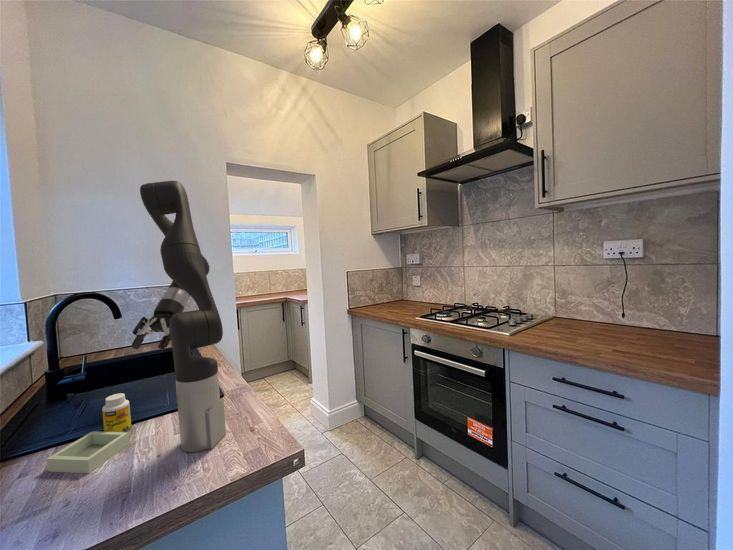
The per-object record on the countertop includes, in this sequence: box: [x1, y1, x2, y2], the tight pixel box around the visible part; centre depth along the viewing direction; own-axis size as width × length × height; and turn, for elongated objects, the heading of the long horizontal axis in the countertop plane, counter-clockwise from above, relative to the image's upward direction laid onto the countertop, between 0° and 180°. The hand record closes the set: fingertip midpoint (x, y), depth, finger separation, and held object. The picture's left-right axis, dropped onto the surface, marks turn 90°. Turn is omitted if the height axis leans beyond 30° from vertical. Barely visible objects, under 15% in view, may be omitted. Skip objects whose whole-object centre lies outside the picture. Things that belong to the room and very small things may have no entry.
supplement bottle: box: [101, 392, 132, 432], centre depth 79 cm, size 6×6×10 cm
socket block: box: [46, 430, 130, 474], centre depth 70 cm, size 10×10×3 cm
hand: (147, 348), depth 90 cm, fingers open, 8 cm apart
